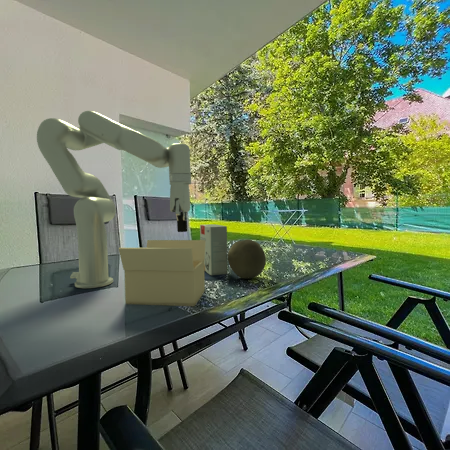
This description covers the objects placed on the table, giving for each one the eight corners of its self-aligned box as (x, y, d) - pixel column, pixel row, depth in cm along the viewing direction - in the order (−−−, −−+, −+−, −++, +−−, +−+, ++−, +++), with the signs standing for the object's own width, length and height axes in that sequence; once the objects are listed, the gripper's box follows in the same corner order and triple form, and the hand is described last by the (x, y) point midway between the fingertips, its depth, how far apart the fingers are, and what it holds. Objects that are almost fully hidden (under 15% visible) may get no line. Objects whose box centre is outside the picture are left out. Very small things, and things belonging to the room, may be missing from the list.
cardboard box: (125, 304, 77) (124, 269, 76) (146, 289, 91) (145, 260, 90) (194, 306, 74) (193, 270, 74) (204, 291, 88) (204, 260, 88)
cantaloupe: (234, 273, 112) (233, 237, 111) (268, 275, 107) (268, 238, 107) (223, 282, 98) (222, 241, 97) (262, 285, 94) (261, 242, 93)
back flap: (147, 240, 92) (148, 240, 92) (145, 260, 90) (145, 260, 90) (205, 240, 89) (205, 240, 90) (204, 260, 88) (204, 260, 88)
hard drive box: (200, 268, 123) (199, 224, 122) (216, 266, 126) (215, 224, 125) (210, 275, 109) (209, 226, 108) (228, 274, 112) (227, 225, 111)
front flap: (124, 269, 76) (123, 270, 76) (119, 247, 73) (118, 248, 73) (193, 270, 74) (193, 271, 73) (191, 247, 71) (191, 248, 71)
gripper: (176, 182, 104) (178, 230, 105) (162, 178, 89) (165, 233, 90) (195, 181, 103) (197, 230, 104) (184, 177, 88) (187, 233, 89)
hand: (182, 231), depth 97 cm, fingers closed
